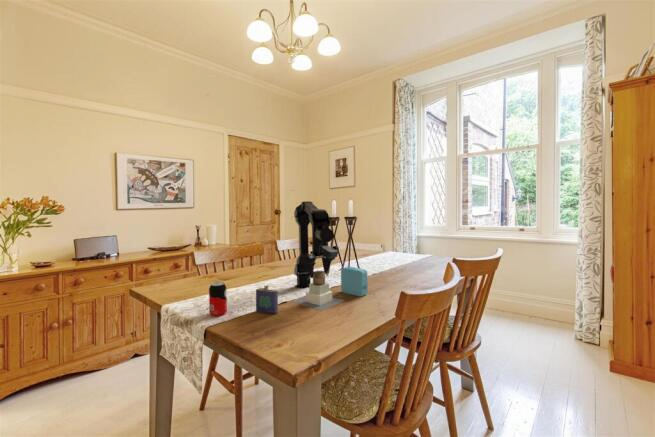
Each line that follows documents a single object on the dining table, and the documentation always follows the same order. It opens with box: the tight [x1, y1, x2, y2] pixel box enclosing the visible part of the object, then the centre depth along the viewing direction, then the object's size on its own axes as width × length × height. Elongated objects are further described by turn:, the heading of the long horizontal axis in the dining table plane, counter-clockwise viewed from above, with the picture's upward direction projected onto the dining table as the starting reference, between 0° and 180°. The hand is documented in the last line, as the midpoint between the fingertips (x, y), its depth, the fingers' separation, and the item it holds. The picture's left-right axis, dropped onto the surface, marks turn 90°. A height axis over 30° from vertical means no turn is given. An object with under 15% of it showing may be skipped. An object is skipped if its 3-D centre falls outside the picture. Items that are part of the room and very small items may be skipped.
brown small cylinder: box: [312, 270, 326, 285], centre depth 130 cm, size 5×5×5 cm
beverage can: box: [208, 281, 228, 317], centre depth 117 cm, size 6×6×12 cm
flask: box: [255, 284, 279, 315], centre depth 119 cm, size 9×3×11 cm, turn 74°
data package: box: [340, 266, 368, 297], centre depth 142 cm, size 12×4×12 cm, turn 50°
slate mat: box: [293, 296, 346, 312], centre depth 131 cm, size 16×16×1 cm
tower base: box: [305, 290, 333, 306], centre depth 131 cm, size 8×8×4 cm
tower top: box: [308, 282, 330, 295], centre depth 131 cm, size 6×6×4 cm
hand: (319, 275), depth 130 cm, fingers open, 9 cm apart
